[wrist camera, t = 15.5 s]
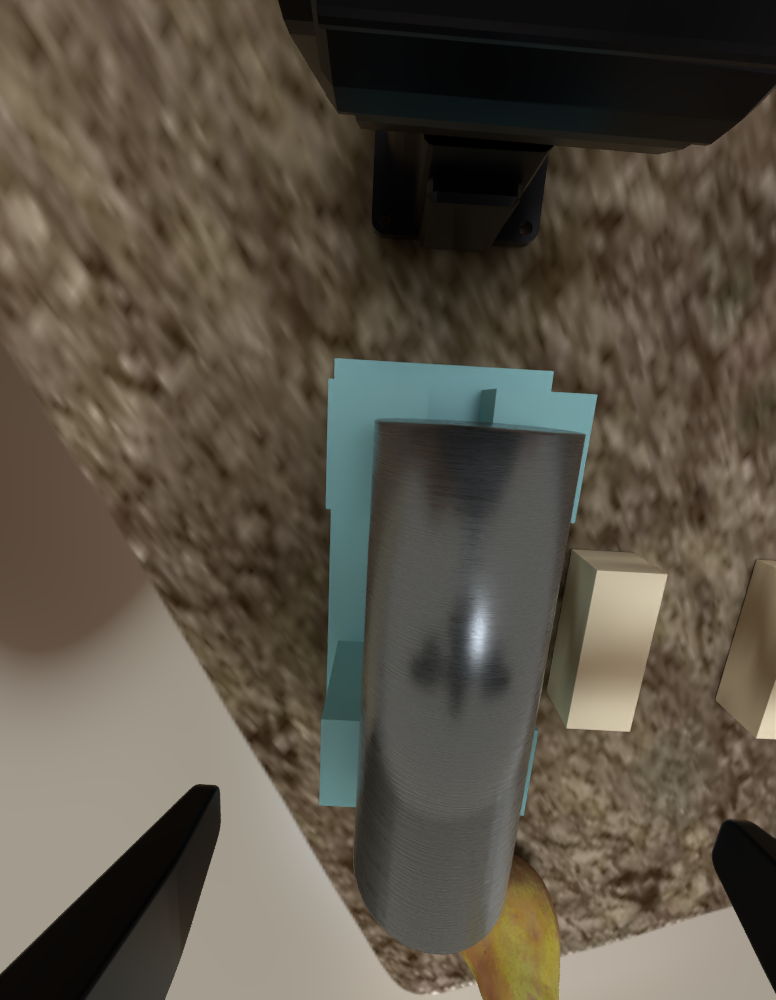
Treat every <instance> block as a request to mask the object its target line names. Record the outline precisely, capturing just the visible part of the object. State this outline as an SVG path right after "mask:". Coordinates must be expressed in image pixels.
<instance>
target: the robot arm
mask: <svg viewBox="0 0 776 1000" xmlns="http://www.w3.org/2000/svg"><path fill="white" fill-rule="evenodd" d="M278 1H279V5H280V8H281V12H282V15H283V19H284V22H285V24H286V26H287V29H288V31H289V33H290V35H291V37H292V38H293V40H294V42H295V43H296V45H297V47H298V48H299V50H300V52H301V53H302V55H303V57H304V58H305V60H306V62H307V63H308V65H309V67H310V68H311V70H312V72H313V73H314V75H315V77H316V78H317V80H318V82H319V83H320V85H321V87H322V88H323V90H324V92H325V93H326V96H327V98H328V99H329V101H330V102H331V103H332V105H333V106H334V108H335V109H336V111H337V112H338V113H339V114H348V115H356V120H357V122H358V124H359V126H360V128H361V129H372V130H376V131H375V155H374V179H373V203H372V225H373V229H374V231H375V233H376V234H377V235H378V236H380V237H383V238H396V239H412V240H419V243H420V244H421V245H422V246H423V247H424V248H432V249H448V250H464V251H480V252H484V251H486V250H487V249H488V248H489V247H490V246H491V245H508V246H526V245H528V244H529V243H531V242H532V240H533V239H534V238H535V237H536V235H537V233H538V230H539V224H540V216H541V208H542V201H543V193H544V185H545V178H546V170H547V162H548V154H549V152H550V151H551V149H552V148H553V146H554V145H557V146H568V147H580V148H591V149H603V150H615V151H626V152H638V153H649V154H661V153H666V152H671V151H676V150H681V149H684V148H686V147H687V146H689V145H691V144H694V145H705V146H706V145H709V144H712V143H713V142H714V141H716V140H717V139H718V138H720V137H721V136H722V135H723V134H725V133H726V132H727V131H729V130H730V129H731V128H732V127H734V126H735V125H736V124H738V123H739V122H740V121H741V120H742V119H744V118H745V117H746V116H747V115H748V114H749V113H750V112H751V111H753V110H754V109H755V108H756V107H757V106H758V105H759V104H760V103H761V102H762V101H763V100H764V99H765V98H766V97H767V96H768V95H769V94H770V93H771V92H772V91H773V90H774V89H775V88H776V0H278ZM384 216H386V217H389V219H390V220H391V223H390V224H389V225H388V226H386V227H383V226H381V225H380V224H379V219H380V218H381V217H384ZM521 225H525V226H527V227H528V228H529V235H526V236H525V235H522V234H521V233H520V229H519V227H520V226H521ZM220 823H221V813H220V790H219V787H218V786H216V785H204V784H198V785H195V786H193V787H192V788H191V789H190V790H189V791H188V792H187V793H186V794H185V795H184V796H182V797H181V798H180V799H179V800H178V801H177V802H176V803H175V804H174V805H173V806H172V807H171V808H170V809H169V810H168V811H167V812H166V813H165V814H164V815H163V816H162V817H161V818H160V819H159V820H158V821H157V822H156V823H155V824H154V825H153V826H152V827H151V828H150V829H149V830H148V831H147V832H146V833H145V834H143V835H142V836H141V837H140V838H139V839H138V840H137V841H136V842H135V843H134V844H133V845H132V846H131V847H130V848H129V849H128V850H127V851H126V852H125V853H124V854H123V855H122V856H121V857H120V858H119V859H118V860H117V861H116V862H115V863H114V864H113V865H112V866H111V867H110V868H109V869H107V870H106V872H104V873H103V874H102V875H101V876H100V877H99V878H98V879H97V880H96V881H95V882H94V883H93V884H92V885H91V886H90V887H89V888H88V889H87V890H86V891H85V892H84V893H83V894H82V895H81V896H80V897H79V898H78V899H77V900H76V901H75V902H74V903H73V904H72V905H71V906H69V908H67V909H66V910H65V911H64V912H63V913H62V914H61V915H60V916H59V917H58V918H57V919H56V920H55V921H54V922H53V923H52V924H51V925H50V926H49V927H48V928H47V929H46V930H45V931H44V932H43V933H42V934H41V935H40V936H39V937H38V938H37V939H36V940H35V941H34V942H33V943H32V944H31V945H29V947H27V948H26V949H25V950H24V952H22V953H21V954H20V955H19V956H18V957H17V958H16V959H15V960H14V961H13V962H12V963H11V964H10V965H9V966H8V967H7V968H6V969H5V970H4V971H3V972H2V973H1V974H0V1000H165V998H166V995H167V993H168V990H169V988H170V985H171V983H172V980H173V977H174V975H175V972H176V969H177V966H178V964H179V961H180V958H181V956H182V953H183V949H184V946H185V943H186V940H187V937H188V934H189V931H190V927H191V924H192V921H193V918H194V914H195V911H196V908H197V904H198V901H199V898H200V895H201V891H202V888H203V885H204V881H205V878H206V875H207V871H208V868H209V865H210V862H211V858H212V855H213V852H214V849H215V845H216V842H217V839H218V835H219V831H220ZM712 861H713V865H714V868H715V870H716V873H717V875H718V877H719V879H720V881H721V883H722V885H723V887H724V889H725V891H726V893H727V895H728V897H729V900H730V902H731V904H732V906H733V908H734V910H735V912H736V914H737V916H738V918H739V920H740V922H741V924H742V926H743V928H744V930H745V933H746V935H747V937H748V939H749V941H750V943H751V945H752V947H753V949H754V951H755V953H756V955H757V957H758V959H759V961H760V963H761V966H762V968H763V970H764V972H765V974H766V976H767V978H768V979H769V981H770V983H771V985H772V987H773V989H774V991H775V993H776V839H775V838H774V837H772V836H771V835H770V834H768V833H767V832H766V831H764V830H763V829H762V828H760V827H759V826H757V825H756V824H754V823H752V822H750V821H746V820H735V819H727V820H725V821H723V823H722V825H721V827H720V830H719V833H718V836H717V839H716V841H715V844H714V847H713V850H712Z"/></svg>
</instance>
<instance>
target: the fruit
mask: <svg viewBox="0 0 776 1000" xmlns="http://www.w3.org/2000/svg"><path fill="white" fill-rule="evenodd" d="M560 950H561V945H560V933H559V926H558V921H557V916H556V913H555V909H554V906H553V903H552V900H551V897H550V894H549V892H548V890H547V888H546V886H545V884H544V882H543V880H542V879H541V877H540V876H539V875H538V873H537V872H536V871H535V870H534V868H533V867H532V866H530V865H529V864H528V863H527V862H526V861H525V860H523V859H521V858H520V857H518V856H517V855H515V854H513V859H512V865H511V871H510V877H509V882H508V888H507V894H506V900H505V903H504V907H503V910H502V912H501V915H500V917H499V919H498V921H497V923H496V924H495V926H494V927H493V929H492V930H491V931H490V932H489V933H488V934H487V936H486V937H485V938H484V939H482V940H481V941H480V942H478V943H477V944H476V945H474V946H472V947H470V948H468V949H466V950H464V951H460V952H461V954H462V956H463V957H464V959H465V961H466V963H467V965H468V966H469V968H470V970H471V971H472V973H473V975H474V977H475V979H476V981H477V984H478V987H479V990H480V993H481V996H482V998H483V1000H559V979H560Z"/></svg>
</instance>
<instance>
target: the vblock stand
mask: <svg viewBox="0 0 776 1000" xmlns="http://www.w3.org/2000/svg"><path fill="white" fill-rule="evenodd" d="M553 374H554V371H540V370H523V369H506V368H490V367H473V366H456V365H440V364H423V363H406V362H389V361H373V360H356V359H339V358H335V367H334V379H328V423H327V470H326V509H331V530H330V571H329V612H328V653H327V693H326V699H325V704H324V709H323V713H322V718H321V752H320V799H319V805H322V806H342V807H356V791H357V770H358V750H359V729H360V708H361V688H362V667H363V646H364V626H365V605H366V585H367V564H368V543H369V523H370V502H371V482H372V461H373V440H374V420H375V419H382V418H415V419H441V420H459V421H475V422H489V423H502V424H514V425H525V426H535V427H545V428H554V429H562V430H569V431H575V432H580V433H584V434H586V437H585V442H584V448H583V454H582V460H581V466H580V471H579V477H578V483H577V489H576V494H575V500H574V506H573V512H572V518H571V523H575V519H576V514H577V508H578V502H579V496H580V491H581V485H582V479H583V474H584V468H585V462H586V456H587V451H588V445H589V439H590V434H591V428H592V422H593V417H594V411H595V405H596V399H597V395H596V394H579V393H562V392H551V387H552V381H553ZM537 736H538V729H537V726H535V732H534V738H533V743H532V749H531V755H530V761H529V767H528V772H527V778H526V784H525V790H524V795H523V801H522V807H521V813H520V815H521V816H524V810H525V804H526V799H527V793H528V787H529V782H530V776H531V770H532V764H533V759H534V753H535V747H536V742H537Z"/></svg>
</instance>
